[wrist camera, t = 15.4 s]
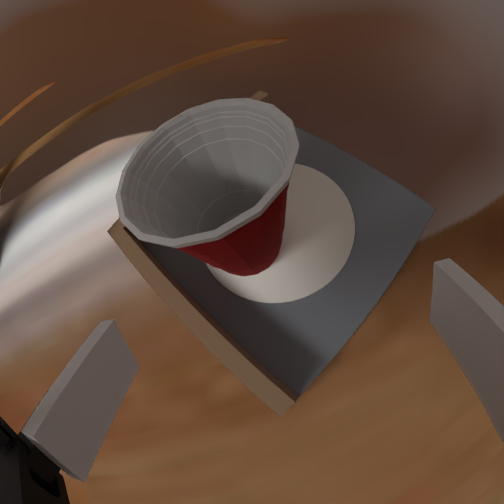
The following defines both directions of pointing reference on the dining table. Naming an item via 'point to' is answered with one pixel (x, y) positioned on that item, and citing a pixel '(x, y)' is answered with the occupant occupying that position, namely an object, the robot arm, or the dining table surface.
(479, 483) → the dining table surface
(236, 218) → the plastic cup
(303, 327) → the tray
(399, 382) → the dining table surface
